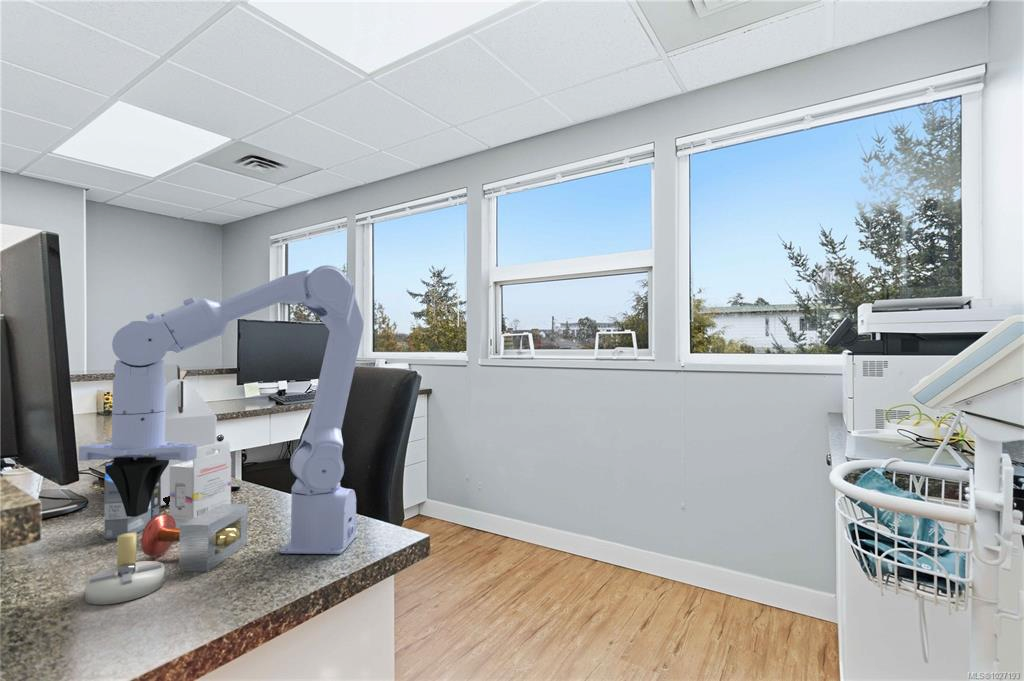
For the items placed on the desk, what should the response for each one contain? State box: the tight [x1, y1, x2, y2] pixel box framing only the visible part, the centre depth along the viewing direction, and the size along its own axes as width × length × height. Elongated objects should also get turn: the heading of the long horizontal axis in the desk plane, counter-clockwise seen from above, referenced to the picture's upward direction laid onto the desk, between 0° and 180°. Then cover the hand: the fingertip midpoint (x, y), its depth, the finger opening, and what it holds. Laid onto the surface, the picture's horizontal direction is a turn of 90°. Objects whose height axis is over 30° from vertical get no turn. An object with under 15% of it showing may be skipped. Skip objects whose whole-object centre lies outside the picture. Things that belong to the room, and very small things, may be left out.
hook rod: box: [140, 513, 240, 557], centre depth 74 cm, size 13×6×6 cm, turn 89°
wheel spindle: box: [118, 563, 136, 576], centre depth 63 cm, size 2×2×1 cm
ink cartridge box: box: [168, 440, 232, 528], centre depth 86 cm, size 9×5×15 cm, turn 168°
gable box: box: [144, 364, 218, 507], centre depth 109 cm, size 22×13×28 cm, turn 49°
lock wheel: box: [84, 533, 166, 606], centre depth 64 cm, size 8×8×6 cm
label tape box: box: [104, 461, 162, 540], centre depth 85 cm, size 9×4×12 cm, turn 5°
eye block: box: [178, 503, 249, 573], centre depth 74 cm, size 4×10×6 cm, turn 179°
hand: (137, 514), depth 66 cm, fingers closed
